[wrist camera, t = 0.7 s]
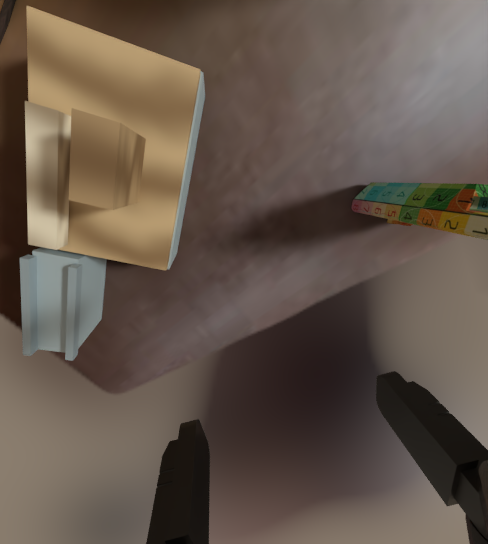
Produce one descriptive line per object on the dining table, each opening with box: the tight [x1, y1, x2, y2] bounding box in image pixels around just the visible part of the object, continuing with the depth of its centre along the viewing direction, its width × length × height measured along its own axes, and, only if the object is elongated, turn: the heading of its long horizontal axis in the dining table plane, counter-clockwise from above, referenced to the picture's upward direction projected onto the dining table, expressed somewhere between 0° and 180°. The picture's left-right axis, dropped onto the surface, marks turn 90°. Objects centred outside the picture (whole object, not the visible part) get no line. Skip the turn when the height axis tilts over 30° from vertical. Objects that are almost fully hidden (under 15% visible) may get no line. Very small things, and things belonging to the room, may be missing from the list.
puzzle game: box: [351, 183, 488, 240], centre depth 27 cm, size 12×5×20 cm, turn 87°
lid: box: [27, 6, 201, 270], centre depth 21 cm, size 20×14×8 cm
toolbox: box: [20, 71, 205, 361], centre depth 29 cm, size 33×14×9 cm, turn 165°
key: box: [25, 101, 71, 250], centre depth 22 cm, size 12×2×2 cm, turn 165°
